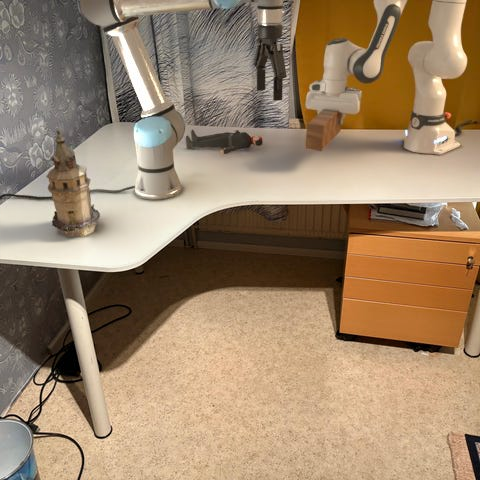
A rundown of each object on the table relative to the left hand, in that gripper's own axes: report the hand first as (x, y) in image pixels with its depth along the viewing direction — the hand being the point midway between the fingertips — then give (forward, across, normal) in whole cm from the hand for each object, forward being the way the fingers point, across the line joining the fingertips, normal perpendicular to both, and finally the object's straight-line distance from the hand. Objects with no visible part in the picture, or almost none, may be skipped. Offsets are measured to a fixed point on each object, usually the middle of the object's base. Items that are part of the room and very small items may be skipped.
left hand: (269, 95), depth 171 cm
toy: (+29, +37, +3) cm, 47 cm away
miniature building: (+29, -12, +65) cm, 72 cm away
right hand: (+18, +17, -33) cm, 41 cm away
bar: (+22, +10, -26) cm, 36 cm away
